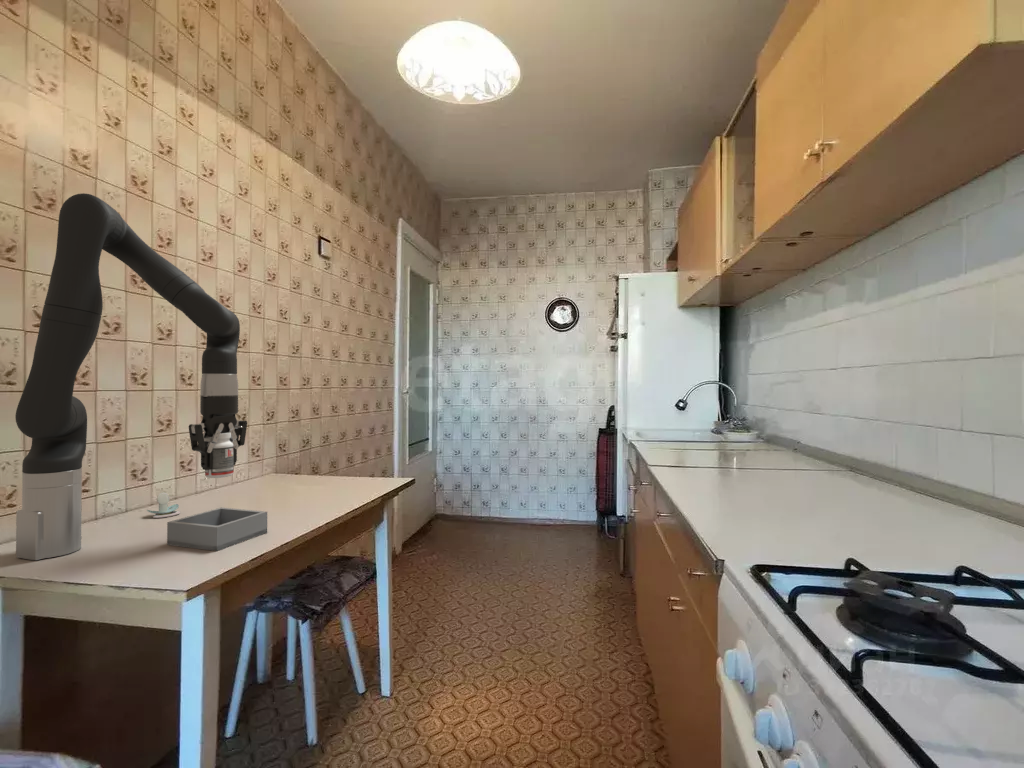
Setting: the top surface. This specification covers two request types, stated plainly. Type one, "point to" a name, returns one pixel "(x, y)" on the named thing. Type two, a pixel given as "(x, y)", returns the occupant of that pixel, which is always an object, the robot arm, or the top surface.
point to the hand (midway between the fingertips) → (219, 467)
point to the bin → (216, 528)
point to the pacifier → (164, 507)
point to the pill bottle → (222, 457)
